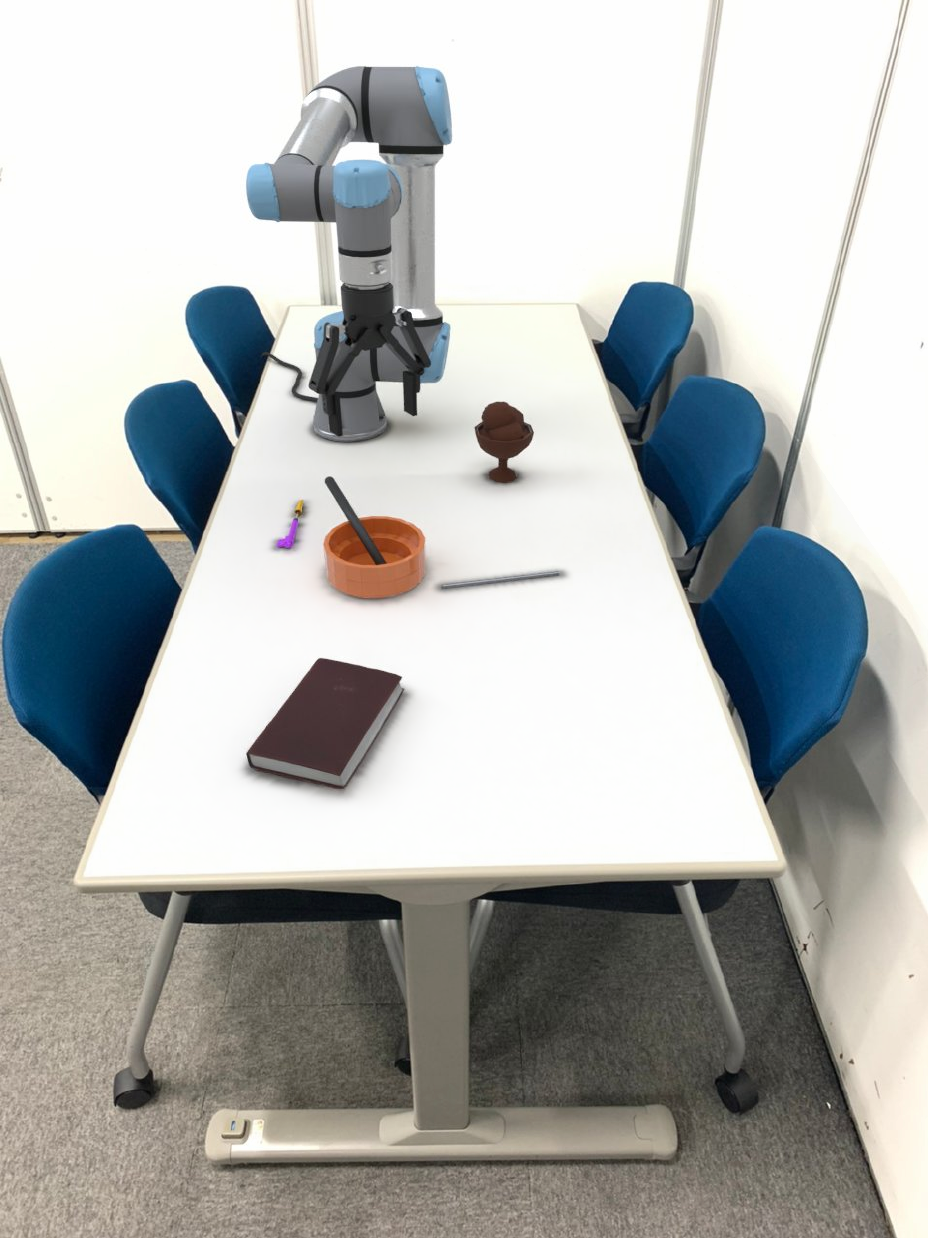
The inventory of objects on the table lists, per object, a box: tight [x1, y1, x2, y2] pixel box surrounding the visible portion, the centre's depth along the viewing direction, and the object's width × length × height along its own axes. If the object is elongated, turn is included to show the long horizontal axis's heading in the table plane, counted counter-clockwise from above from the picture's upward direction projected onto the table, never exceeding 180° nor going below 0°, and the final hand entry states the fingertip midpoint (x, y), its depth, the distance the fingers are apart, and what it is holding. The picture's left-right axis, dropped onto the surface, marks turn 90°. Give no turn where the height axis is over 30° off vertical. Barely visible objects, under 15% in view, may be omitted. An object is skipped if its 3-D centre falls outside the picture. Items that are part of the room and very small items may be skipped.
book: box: [245, 657, 405, 790], centre depth 112 cm, size 12×19×3 cm, turn 161°
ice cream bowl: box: [473, 400, 535, 484], centre depth 165 cm, size 11×11×15 cm
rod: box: [441, 570, 560, 590], centre depth 140 cm, size 1×19×1 cm, turn 102°
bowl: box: [323, 515, 427, 599], centre depth 140 cm, size 16×16×6 cm
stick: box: [324, 476, 387, 565], centre depth 142 cm, size 20×2×10 cm, turn 35°
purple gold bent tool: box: [276, 499, 304, 549], centre depth 154 cm, size 3×1×16 cm
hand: (374, 423), depth 140 cm, fingers open, 13 cm apart
